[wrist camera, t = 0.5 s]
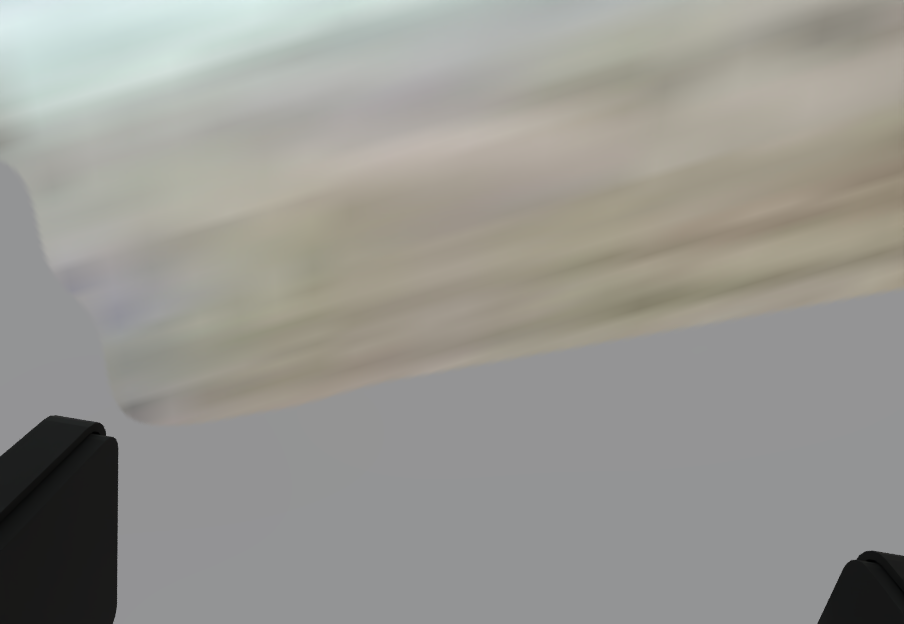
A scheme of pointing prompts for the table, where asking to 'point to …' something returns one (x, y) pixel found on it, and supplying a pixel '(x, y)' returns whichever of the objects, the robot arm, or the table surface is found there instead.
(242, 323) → the table surface
